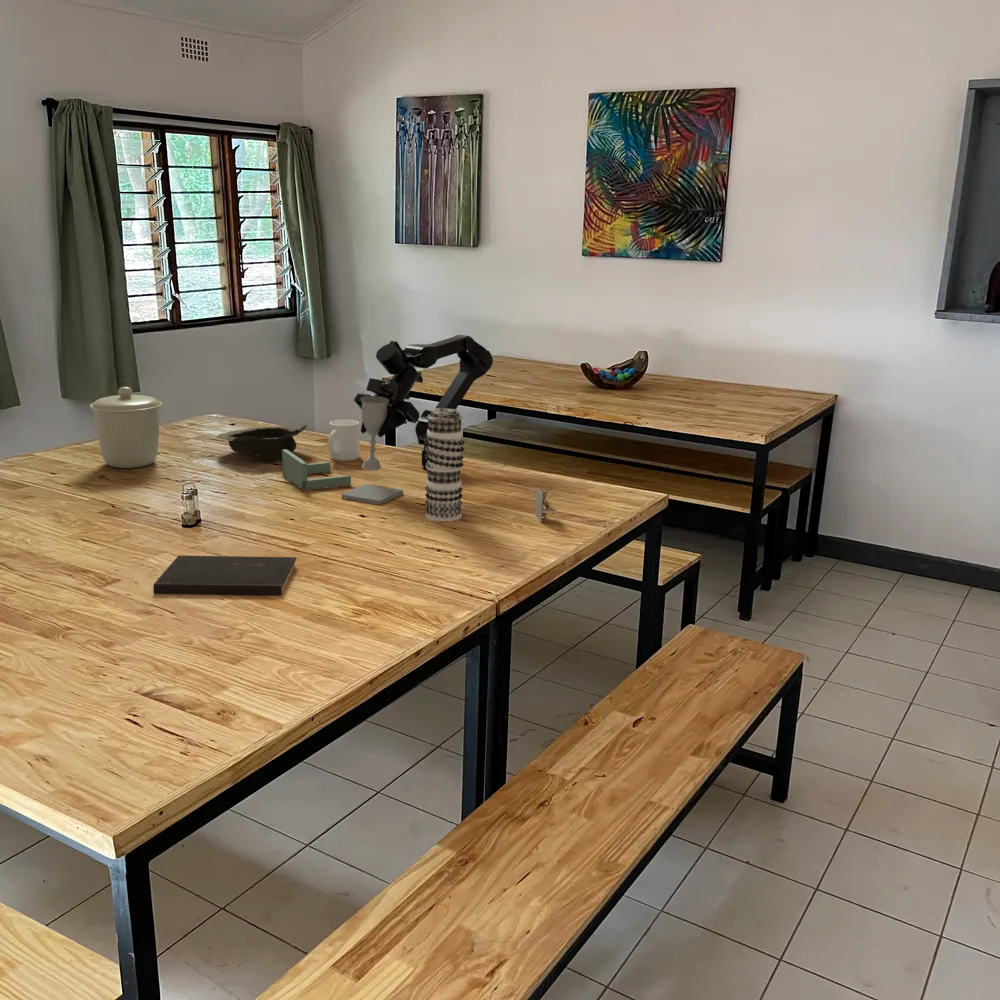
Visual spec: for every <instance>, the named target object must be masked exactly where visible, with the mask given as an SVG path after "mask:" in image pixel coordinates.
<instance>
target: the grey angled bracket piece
mask: <svg viewBox="0 0 1000 1000" xmlns="http://www.w3.org/2000/svg"><path fill="white" fill-rule="evenodd" d="M535 489H536V490H535V492H536V493H535V511H534V513H535V514H534V515H535V516H536V517H537V518H538V519H539V521H540V522H542V523H543V518H542V517H545V518H546V516H547V514H553V513H555V514H556V513H558V510H557V509H556V508H555V506H553V504H552V503H551V502H549V501H548V500H547V499H546V497H547V494H548V491H547V490H546V491H545V490H544V491H542V490H540V489H539V488H538V487H536V488H535ZM544 507H545V509H544ZM536 517H535V518H536ZM537 518H536V519H537ZM538 519H537V520H538ZM540 522H539V523H540Z"/></svg>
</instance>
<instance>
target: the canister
mask: <svg viewBox="0 0 1000 1000" xmlns="http://www.w3.org/2000/svg"><path fill="white" fill-rule="evenodd" d="M117 394H118V395H110V396H105V397H101V398H97V400H94V402H92V403H91V404H89V409H90V410H92V415H93V418H94V419H93V420H94V423H95V429H96V434H97V438H98V443H99V446H100V451H101V454H102V458H103V460H104V462H105V463H106V464H107V465H108V466H110V467H113V468H118V469H136V468H135V467H137V468H142V467H143V468H144V467H146V465H147V466H149V465H152V464H153V463H154V462H155V461H156V459H157V457H158V451H159V437H160V436H159V435H160V434H159V433H160V417H161V414H160V411H161V410H160V409H161V407H162V406H163V402H162V401H161V400H158V399H157V398H155V397H153V396H148V395H145V394H144V395H141V394H133V390H132V388H131V387H130V386H129V387H128V386H121V387H119V389H118V390H117Z"/></svg>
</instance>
